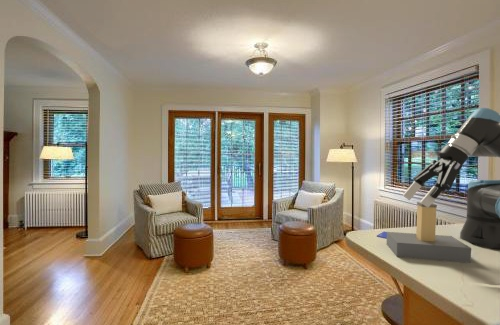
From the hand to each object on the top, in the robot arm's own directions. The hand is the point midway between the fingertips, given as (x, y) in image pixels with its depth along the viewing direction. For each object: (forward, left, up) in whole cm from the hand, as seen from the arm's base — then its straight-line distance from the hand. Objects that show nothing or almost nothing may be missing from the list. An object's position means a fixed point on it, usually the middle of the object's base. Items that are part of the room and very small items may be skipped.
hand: (414, 201), depth 95 cm
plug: (-2, +4, -15) cm, 16 cm away
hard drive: (+2, -11, -17) cm, 20 cm away
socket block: (-2, +4, -16) cm, 17 cm away
